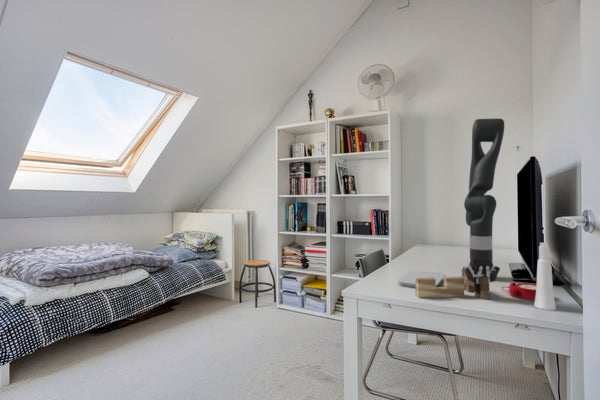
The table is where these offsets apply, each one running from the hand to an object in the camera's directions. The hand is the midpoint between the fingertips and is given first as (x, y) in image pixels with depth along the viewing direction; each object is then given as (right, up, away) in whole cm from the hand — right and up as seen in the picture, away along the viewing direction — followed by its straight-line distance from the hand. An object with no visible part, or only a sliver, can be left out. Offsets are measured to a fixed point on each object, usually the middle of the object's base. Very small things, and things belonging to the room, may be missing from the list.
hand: (481, 292), depth 122 cm
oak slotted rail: (-15, -2, +2) cm, 15 cm away
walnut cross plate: (0, -2, +4) cm, 5 cm away
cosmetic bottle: (+15, -2, -12) cm, 19 cm away
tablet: (-13, -2, +24) cm, 28 cm away
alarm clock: (+17, -2, 0) cm, 17 cm away
